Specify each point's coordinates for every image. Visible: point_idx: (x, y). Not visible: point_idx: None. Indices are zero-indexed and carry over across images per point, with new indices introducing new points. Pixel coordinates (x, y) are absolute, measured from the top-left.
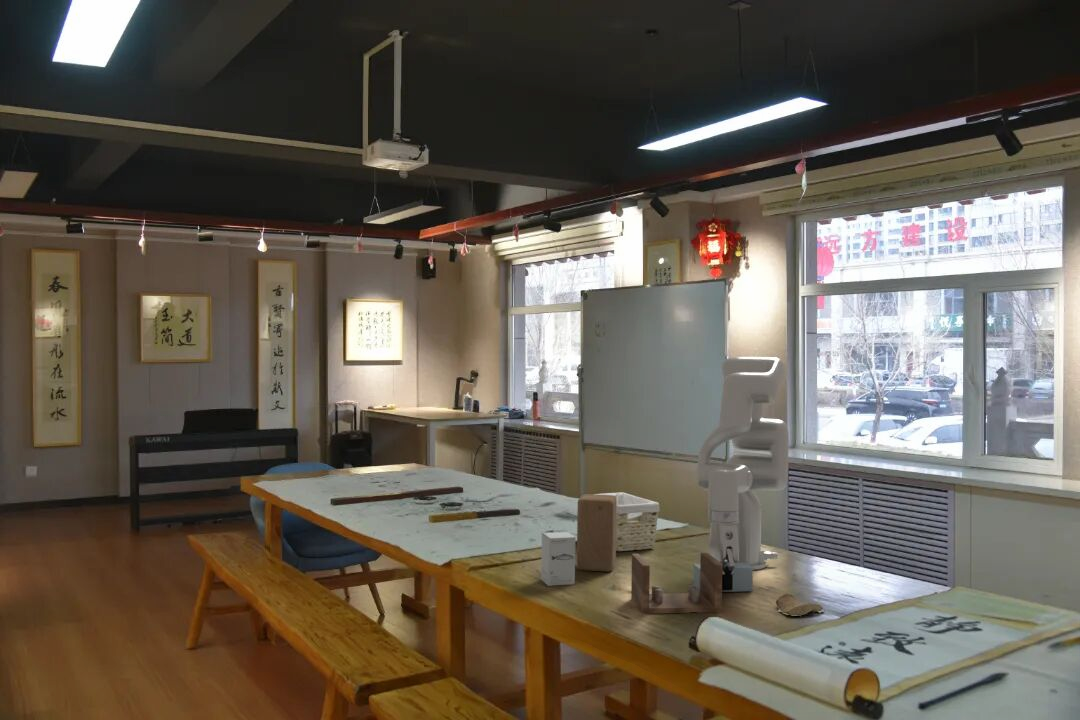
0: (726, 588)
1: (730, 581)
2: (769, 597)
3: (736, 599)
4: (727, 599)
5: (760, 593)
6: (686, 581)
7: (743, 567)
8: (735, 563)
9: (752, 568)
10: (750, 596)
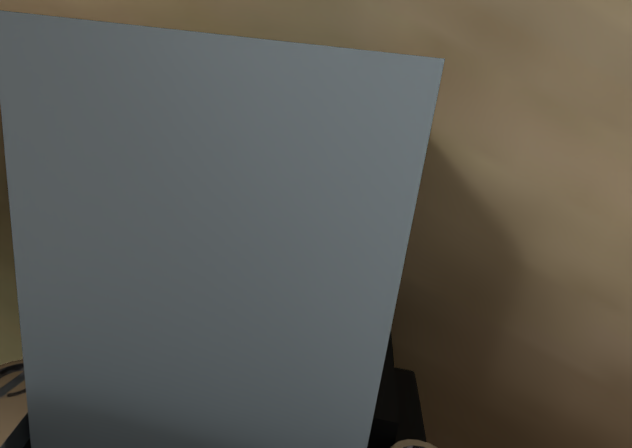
0: None
1: (418, 403)
2: (628, 6)
3: (568, 357)
4: (540, 422)
5: (453, 34)
6: None
7: (370, 272)
8: (58, 271)
9: (439, 71)
10: (522, 191)
